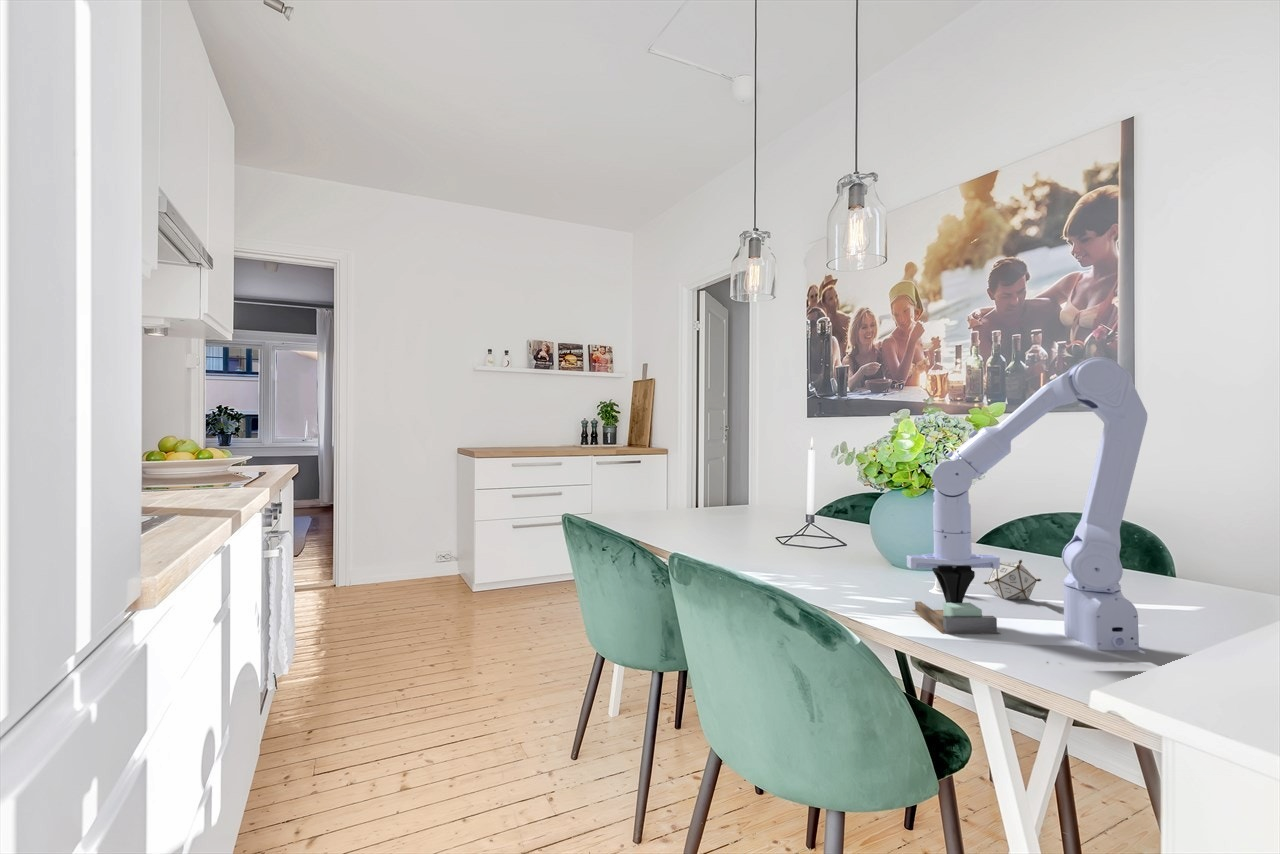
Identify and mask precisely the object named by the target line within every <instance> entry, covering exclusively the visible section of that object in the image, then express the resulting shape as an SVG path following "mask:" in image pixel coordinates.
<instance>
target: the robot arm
mask: <svg viewBox="0 0 1280 854" xmlns="http://www.w3.org/2000/svg"><path fill="white" fill-rule="evenodd" d="M1076 402H1079V403H1081V404H1084V405H1085V406H1087V407H1089V408H1090V410H1091V411H1092V412H1093V413H1094V414H1095V416H1097V417H1098V419H1100V420H1101V421H1102V423H1103V428H1102V431H1101V436H1100V440H1099V443H1098V444H1099V445H1098V449H1097V452H1096V453H1097V454H1096V458H1095V461H1094V465H1093V469H1092V474H1091V478H1090V482H1089V486H1088V489H1087V494H1086V497H1085V501H1084V502H1085V503H1084V506H1083V510H1082V514H1081V518H1080V520H1079V523H1078V524H1077V526H1076V528H1075V529H1074V532H1073V533H1074V535H1073V537H1072V538H1071V540H1070V541H1069V542H1068V543H1067V544H1066V545H1065V546H1064V547H1063V548H1062V549H1063V550H1062V552H1061V560H1062V563H1063V565H1064V566H1065V567H1066V569H1067V570H1068V571H1069V572H1068V573H1067V576H1066V577H1064V579H1062V581H1063V582H1062V583H1063V584H1062V586H1063V590H1062V591H1063V593H1062V594H1063V619H1064V620H1063V623H1064V624H1063V625H1064V626H1063V627H1064V628H1063V631H1064V635H1065V636H1066V637H1067V638H1069V639H1071V640H1073V641H1076V642H1080V643H1082V644H1084V645H1086V646H1088V647H1090V648H1092V649H1094V650H1096V651H1137V652H1139V653H1140V654H1143V655H1146V652H1145V651H1144V650H1142V649H1140V645H1139V644H1140V642H1139V641H1140V640H1139V637H1140V635H1139V613H1138V611H1137V608H1136V607H1135V605H1134V604H1133V603H1132V601H1130V600H1128V599H1127V598H1126V597H1125V596H1124V594H1123V592H1122V585H1121V584H1120V583H1119V582H1120V581H1121V580H1122V577H1123V575H1124V573H1123V572H1124V570H1123V565H1122V562H1121V559H1120V552H1121V547H1122V542H1121V532H1120V531H1121V526H1122V521H1123V518H1124V514H1125V510H1126V505H1127V502H1128V499H1129V494H1130V489H1131V486H1132V483H1133V478H1134V474H1135V470H1136V467H1137V462H1138V457H1139V454H1140V450H1141V446H1142V442H1143V438H1144V435H1145V431H1146V426H1147V423H1148V412H1147V409H1146V408H1145V406H1144V404H1143V401H1142V399H1141V397H1140V396H1139V393H1138V391H1137V389H1136V387H1135V385H1134V381H1133V377H1132V374H1131V373H1130V372H1128V370H1126V369H1125V368H1124V367H1123V366H1121V365H1120V364H1119V363H1118V362H1116V360H1113V359H1111V358H1109V357H1106V356H1105V357H1104V356H1095V357H1091V358H1087V359H1085V360H1083V361H1081V362H1080V363H1076V364H1074V365H1072V367H1070V368H1069V369H1068V370H1067V371H1066V372H1064V373H1062V374H1060V375H1058V376H1056V377H1055V378H1053V379H1052V380H1050V381H1048V382H1047V383H1046V384H1043V386H1041V387H1040V388H1039V389H1038V390H1036V391H1035V392H1034V393H1033V394H1031V396H1030V397H1028V398H1027V400H1025V401H1024V402H1022V403H1021V405H1019V406H1018V407H1017V408H1016V409H1015V410H1014V411H1013V412H1012V413H1010V414H1009V415H1008V416H1007V417H1006V418H1005V419H1004V420H1003V421H1001V422H1000V423H999V424H998V425H997V426H996V427H994V426H993V427H992V426H991V427H989V426H988V427H986V426H984V427H983V426H982V427H981V428H980V429H979V430H978V431H977V430H976V429H973V430H972V431H970V432H969V433H968V436H969V437H970V438H968V439H967V440H966V441H964V442H963V443H962V444H961V445H960V446H959V447H958V448H957V449H956V450H954V451H951V450H950V451H948V452H947V453H946V457H947V458H948V459H946V460H941V462H939V463H938V464H936V466H935V467H934V469H933V472H932V475H931V480H932V483H933V486H934V491H933V500H934V502H933V504H932V518H933V520H932V521H933V523H932V524H933V527H932V528H933V553H926V554H925V553H924V554H912V555H911V554H910V555H906V566H907V567H908V568H909V569H911V570H918V569H931V570H932V572H933V573H934V576H935V578H936V577H937V579H938V581H939V583H940V586H941V588H942V591H943V594H942V595H943V598H944V599H945V603H964V602H963V601H964V598H965V596H966V592H967V590H968V588H969V586H970V585H971V583H972V582H973V581H974V579H975V575H976V572H975V571H974V570H972V569H980V568H981V569H992V570H993V569H1000V563H1001V561H1000V559H1001V557H999V556H997V555H994V554H977V553H975V554H974V553H972V519H971V518H972V516H971V515H972V514H971V512H972V510H971V508H972V506H971V504H970V502H969V499H970V497H969V490H970V489H971V486H972V484H973V479H976V478H978V479H979V478H981V477H982V476H984V474H986V473H987V472H988V471H989V470H991V469H992V468H993V467H994V466H996V465H997V464H998V463H999V462H1001V461H1002V460H1003V459H1004V458H1006V456H1008V455H1009V454H1011V451H1012V441H1013V440H1015V438H1016V437H1018V436H1019V435H1020V434H1022V433H1023V432H1024V431H1026V430H1027V429H1029V427H1031V426H1032V425H1033V424H1035V423H1036V422H1037V421H1039V419H1041V418H1043V417H1044V416H1045V415H1046V414H1048V413H1049V412H1050V411H1051V410H1053V409H1055V408H1057V407H1061V406H1064V405H1069V404H1072V403H1076Z"/></svg>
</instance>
